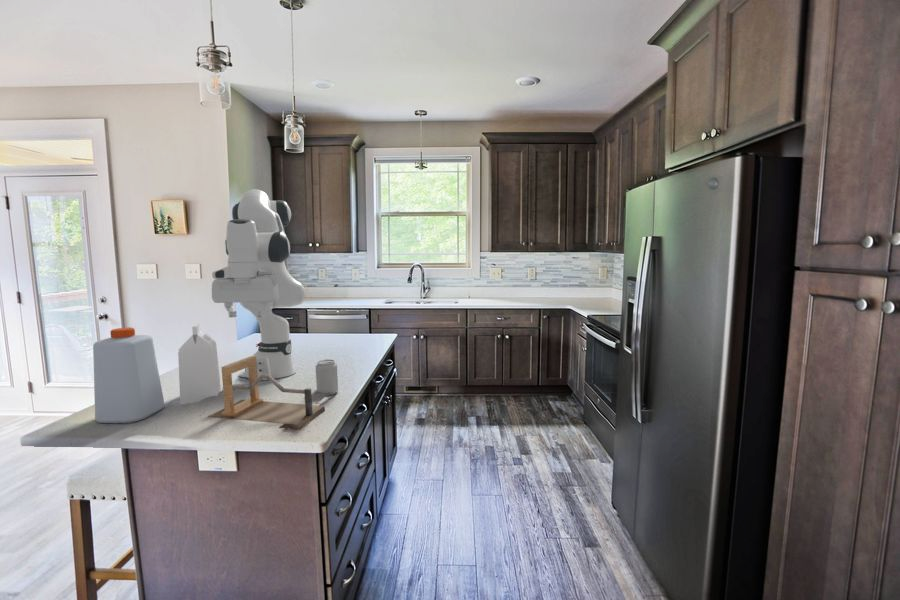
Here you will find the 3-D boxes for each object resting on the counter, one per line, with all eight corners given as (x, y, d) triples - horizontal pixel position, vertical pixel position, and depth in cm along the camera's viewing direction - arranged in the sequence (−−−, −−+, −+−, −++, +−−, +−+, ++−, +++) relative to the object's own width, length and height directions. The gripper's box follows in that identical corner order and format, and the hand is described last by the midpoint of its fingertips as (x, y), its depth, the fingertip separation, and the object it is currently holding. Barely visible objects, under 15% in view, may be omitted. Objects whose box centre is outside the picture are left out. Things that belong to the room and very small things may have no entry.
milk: (186, 393, 156) (179, 323, 153) (221, 389, 161) (216, 321, 158) (180, 404, 145) (173, 329, 142) (218, 399, 150) (212, 326, 147)
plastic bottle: (127, 406, 145) (118, 324, 141) (170, 406, 144) (162, 324, 141) (88, 424, 130) (77, 334, 126) (136, 424, 129) (127, 333, 126)
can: (332, 397, 151) (330, 364, 149) (313, 396, 152) (311, 363, 151) (341, 390, 158) (340, 358, 157) (323, 389, 160) (321, 357, 158)
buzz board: (208, 421, 131) (204, 379, 129) (242, 403, 145) (239, 365, 144) (298, 429, 124) (295, 385, 122) (324, 410, 138) (322, 370, 137)
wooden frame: (221, 416, 131) (217, 366, 129) (250, 401, 144) (247, 355, 142) (235, 417, 130) (231, 367, 128) (263, 402, 142) (260, 356, 140)
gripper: (281, 271, 133) (284, 315, 134) (220, 272, 135) (223, 316, 136) (271, 271, 127) (273, 317, 128) (206, 273, 129) (209, 318, 130)
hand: (247, 317), depth 132 cm, fingers open, 8 cm apart
